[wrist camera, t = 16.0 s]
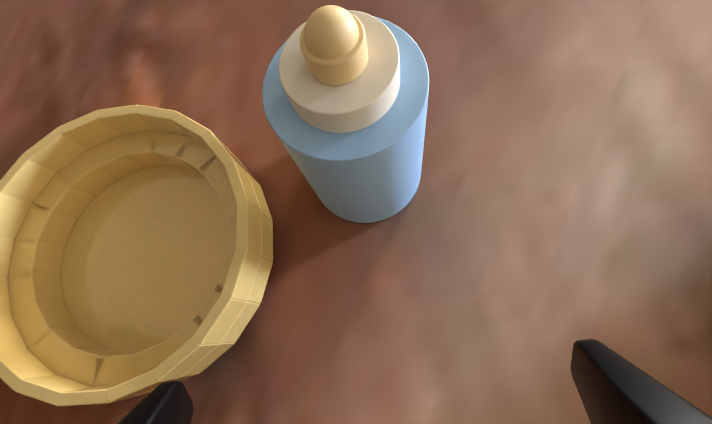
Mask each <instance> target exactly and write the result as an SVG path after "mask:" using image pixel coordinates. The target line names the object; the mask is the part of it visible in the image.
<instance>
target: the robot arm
mask: <svg viewBox="0 0 712 424" xmlns="http://www.w3.org/2000/svg"><path fill="white" fill-rule="evenodd" d="M571 374H572V377H573V380H574V382H575V385H576V387H577V390H578V392H579V395H580V397H581V400H582V402H583V405H584V407H585V410H586V412H587V414H588V417H589V419H590V422H591V424H712V418H711V417H710V416H708V415H707V414H705V413H704V412H702V411H701V410H699V409H698V408H696V407H695V406H693V405H692V404H691V403H689V402H688V401H686V400H685V399H683V398H682V397H680V396H679V395H677V394H676V393H674V392H673V391H671V390H670V389H668V388H667V387H665V386H664V385H663V384H661V383H660V382H658V381H657V380H655V379H654V378H652V377H651V376H649V375H648V374H646V373H645V372H643V371H642V370H640V369H639V368H637V367H636V366H635V365H633V364H632V363H630V362H629V361H627V360H626V359H624V358H623V357H621V356H620V355H618V354H617V353H615V352H614V351H612V350H611V349H609V348H608V347H607V346H605V345H604V344H602V343H601V342H599V341H597V340H595V339H587V340H578V341H576V342H575V343H574V345H573V352H572V360H571ZM192 416H193V402H192V400H191V398H190V396H189V394H188V392H187V390H186V388H185V386H184V384H183V383H182V382H181V381H180V380H174V381H165V382H162V383H161V384H159V385H158V386H157V387H156V388H155V389H154V390H153V391H152V392H151V393H150V394H149V395H147V396H146V397H145V398H144V399H143V400H142V401H141V402H140V403H139V404H138V405H137V406H136V407H134V408H133V409H132V410H131V411H130V412H129V413H128V414H127V415H126V416H125V417H124V418H123V419H121V420H120V421H119V422H118V423H117V424H191V420H192Z"/></svg>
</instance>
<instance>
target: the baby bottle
mask: <svg viewBox="0 0 712 424" xmlns="http://www.w3.org/2000/svg"><path fill="white" fill-rule="evenodd" d="M428 92H429V73H428V67H427V64H426V60H425V58H424V56H423V53H422V51H421V50H420V48H419V47H418V45H417V44H416V42H415V41H414V40H413V39H412V38H411V37H410V36H409V35H408V34H407V33H406V32H405V31H403V30H402V29H401V28H399V27H398V26H396V25H394V24H392V23H390V22H388V21H386V20H383V19H380V18H377V17H373V16H371V15H369V14H366V13H362V12H358V11H351V10H345V9H343V8H341V7H339V6H334V5H327V6H323V7H320V8H319V9H317V10H316V11H314V12H313V13H312V14H311V15H310V17H309V19H308V20H307V22H305V23H304V24H302V25H301V26H300V27H298V28H297V29H296V30H295V31H294V32H293V33H292V35H291V36H290V37H289V38H288V40H287V41H286V42H285V43H284V44H283V45H282V46H281V48H280V49H279V50H278V51H277V53H276V54H275V56H274V57H273V59H272V61H271V62H270V65H269V67H268V69H267V72H266V75H265V78H264V84H263V105H264V110H265V113H266V117H267V119H268V121H269V123H270V125H271V127H272V128H273V130H274V131H275V133H276V134H277V136H278V137H279V139H280V140H281V142H282V143H283V145H284V146H285V148H286V149H287V151H288V152H289V154H290V155H291V157H292V158H293V160H294V161H295V163H296V164H297V166H298V167H299V169H300V170H301V172H302V173H303V175H304V176H305V178H306V179H307V181H308V182H309V184H310V185H311V187H312V188H313V190H314V191H315V193H316V194H317V196H318V197H319V199H320V200H321V202H322V203H323V205H324V206H325V207H326V208H327V209H328V210H330V211H331V212H332V213H333V214H335V215H337V216H338V217H340V218H342V219H345V220H348V221H351V222H357V223H372V222H377V221H381V220H384V219H387V218H389V217H391V216H393V215H395V214H396V213H398V212H399V211H401V210H402V209H403V208H404V207H405V206H406V205H407V204H408V203H409V202H410V201H411V199H412V198H413V196H414V195H415V193H416V190H417V188H418V185H419V182H420V177H421V168H422V157H423V146H424V135H425V125H426V114H427V103H428Z"/></svg>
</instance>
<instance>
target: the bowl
mask: <svg viewBox="0 0 712 424" xmlns="http://www.w3.org/2000/svg"><path fill="white" fill-rule="evenodd" d="M272 261H273V222H272V217H271V214H270V211H269V209H268V206H267V203H266V200H265V197H264V194H263V191H262V189H261V186H260V184H259V183H258V182H257V181H256V180H255V178H254V177H253V176H252V175H251V174H250V172H249V171H248V170H247V169H246V167H245V166H244V165H243V164H242V163H241V161H240V160H239V159H238V158H237V157H236V156H235V155H234V154H233V153H232V152H231V151H230V150H229V149H228V148H227V147H226V146H225V145H224V144H223V143H222V142H221V141H220V140H219V139H218V138H217V137H216V136H215V135H214V134H213V133H212V132H211V131H210V130H209V129H208V128H206V127H204V126H202V125H200V124H199V123H197V122H195V121H193V120H192V119H190V118H188V117H186V116H185V115H183V114H181V113H179V112H177V111H174V110H168V109H162V108H156V107H150V106H144V105H129V106H122V107H115V108H108V109H101V110H96V111H94V112H91V113H89V114H87V115H84V116H82V117H80V118H77V119H75V120H73V121H70V122H68V123H66V124H63V125H61V126H59V127H57V128H56V129H55V130H53V131H52V132H51V133H49V134H48V135H47V136H45V137H44V138H43V139H41V140H40V141H39V142H37V143H36V144H35V145H33V146H32V147H31V148H29V149H28V150H27V151H25V152H24V153H23V154H22V155H21V156H20V157H19V158H18V160H17V161H16V162H15V163H14V164H13V166H12V167H11V168H10V169H9V170H8V172H7V173H6V174H5V175H4V176H3V178H2V179H1V180H0V378H1V379H2V380H3V381H4V382H5V383H6V384H7V385H8V386H9V387H10V388H11V389H12V390H13V391H15V392H17V393H20V394H23V395H26V396H29V397H32V398H34V399H37V400H40V401H43V402H46V403H49V404H52V405H55V406H60V407H61V406H77V405H93V404H107V403H111V402H115V401H120V400H124V399H128V398H132V397H136V396H140V395H144V394H148V393H151V392H152V391H153V390H154V389H155V388H156V387H157V386H158V385H159V384H161V383H162V382H165V381H174V380H180V381H183V380H185V379H188V378H190V377H193V376H195V375H197V374H199V373H201V372H202V371H203V370H205V369H206V368H207V367H208V366H209V365H210V364H212V363H213V362H214V361H215V360H216V359H217V358H219V357H220V356H221V355H222V354H223V353H224V352H226V351H227V350H228V349H229V348H230V347H231V346H232V345H234V344H235V342H236V341H237V339H238V338H239V336H240V335H241V333H242V332H243V330H244V329H245V327H246V326H247V324H248V322H249V321H250V319H251V318H252V316H253V315H254V313H255V312H256V310H257V309H258V307H259V306H260V303H261V301H262V297H263V294H264V291H265V287H266V284H267V281H268V277H269V274H270V271H271V267H272V264H273V262H272Z"/></svg>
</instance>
